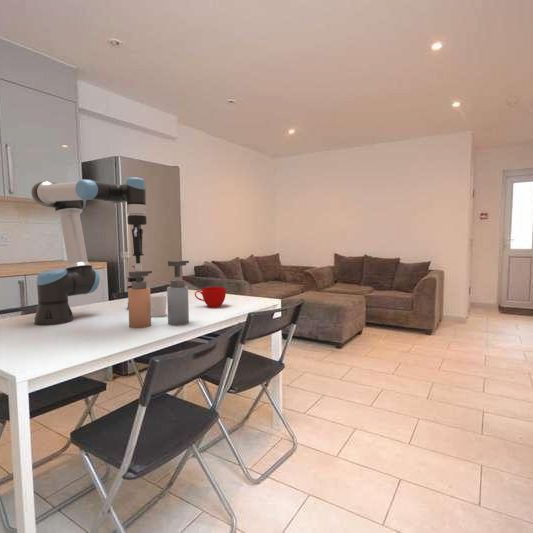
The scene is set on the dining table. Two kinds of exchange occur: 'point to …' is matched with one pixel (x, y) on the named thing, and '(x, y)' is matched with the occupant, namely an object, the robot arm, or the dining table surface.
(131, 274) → the grey dispenser pump
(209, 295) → the ceramic cup
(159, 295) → the white cup
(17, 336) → the dining table surface
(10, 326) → the dining table surface
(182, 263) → the slate pump head
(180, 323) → the slate pump bottle
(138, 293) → the terracotta pump bottle
